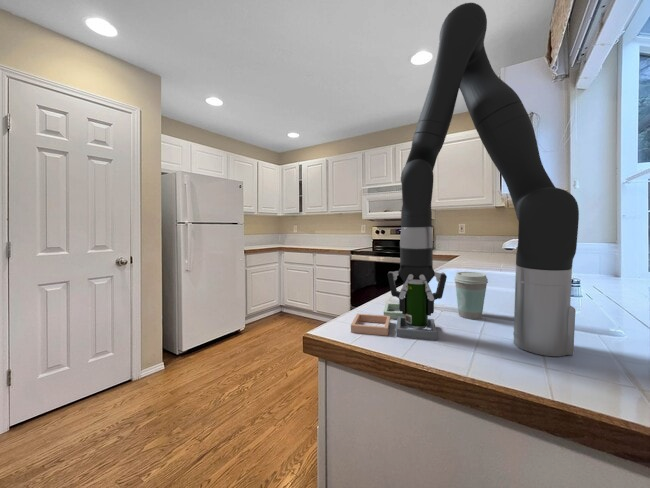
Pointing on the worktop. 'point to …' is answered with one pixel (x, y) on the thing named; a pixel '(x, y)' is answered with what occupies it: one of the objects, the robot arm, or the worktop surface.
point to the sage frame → (392, 314)
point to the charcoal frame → (416, 333)
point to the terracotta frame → (371, 329)
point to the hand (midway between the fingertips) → (416, 313)
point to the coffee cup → (470, 293)
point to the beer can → (416, 304)
